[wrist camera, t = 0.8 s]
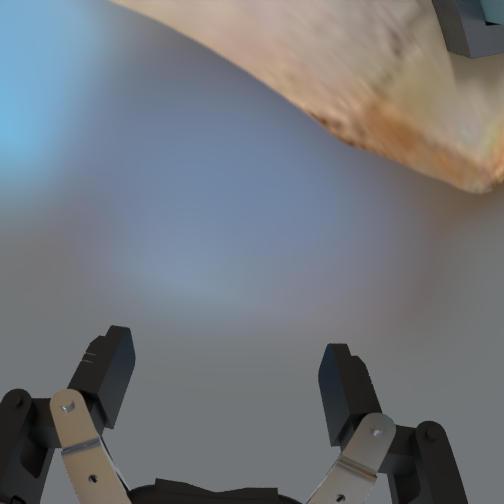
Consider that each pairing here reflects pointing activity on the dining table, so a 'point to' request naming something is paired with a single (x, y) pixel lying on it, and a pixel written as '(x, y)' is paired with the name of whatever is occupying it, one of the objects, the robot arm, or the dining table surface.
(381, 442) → the robot arm
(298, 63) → the dining table surface
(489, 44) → the socket block
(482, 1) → the peg
